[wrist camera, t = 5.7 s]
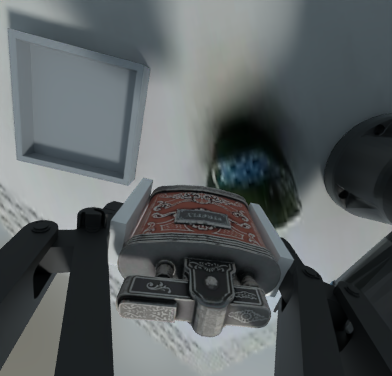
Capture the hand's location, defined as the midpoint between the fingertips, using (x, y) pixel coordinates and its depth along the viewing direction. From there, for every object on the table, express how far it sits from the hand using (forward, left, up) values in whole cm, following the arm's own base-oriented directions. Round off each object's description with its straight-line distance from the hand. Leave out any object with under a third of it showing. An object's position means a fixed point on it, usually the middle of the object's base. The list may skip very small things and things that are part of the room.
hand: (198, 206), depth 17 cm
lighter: (0, 0, 0) cm, 0 cm away
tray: (+17, -3, -16) cm, 23 cm away
